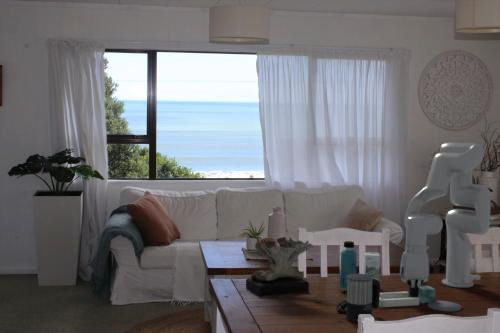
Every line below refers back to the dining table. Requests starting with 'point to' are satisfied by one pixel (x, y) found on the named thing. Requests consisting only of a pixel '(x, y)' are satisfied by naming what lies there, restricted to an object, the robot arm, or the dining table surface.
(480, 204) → the robot arm
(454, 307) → the pad
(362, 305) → the milk frother
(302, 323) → the dining table surface
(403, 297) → the white tray
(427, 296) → the teal block
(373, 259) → the syrup box
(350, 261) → the beverage bottle
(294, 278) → the coral
